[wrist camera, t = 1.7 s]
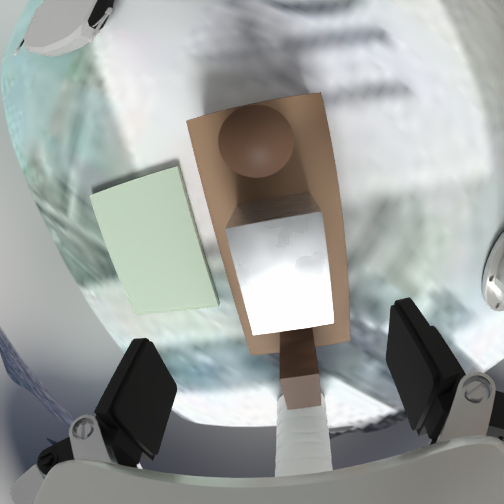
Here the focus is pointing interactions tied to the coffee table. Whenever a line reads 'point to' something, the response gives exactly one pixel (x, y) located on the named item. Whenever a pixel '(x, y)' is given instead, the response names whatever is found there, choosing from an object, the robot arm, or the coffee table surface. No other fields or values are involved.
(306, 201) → the grey rectangular block
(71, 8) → the toy panda
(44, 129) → the coffee table surface
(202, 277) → the mat
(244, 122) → the plane body
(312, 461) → the water bottle
